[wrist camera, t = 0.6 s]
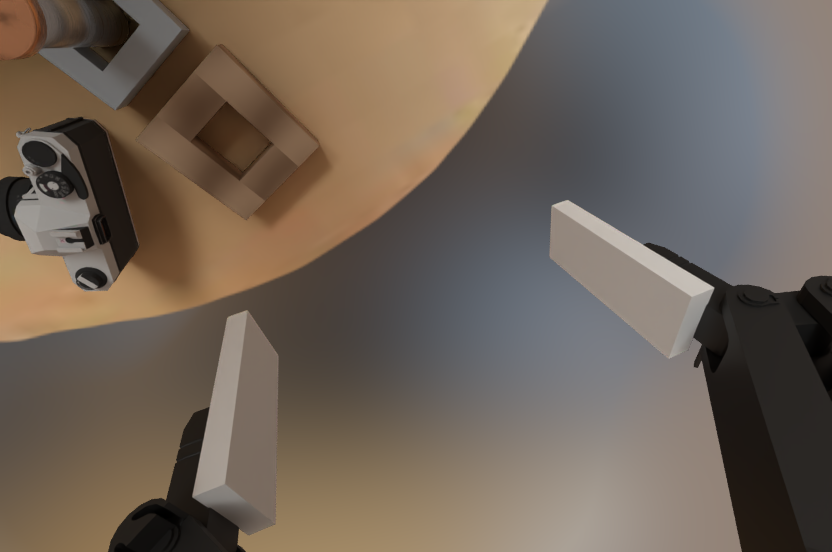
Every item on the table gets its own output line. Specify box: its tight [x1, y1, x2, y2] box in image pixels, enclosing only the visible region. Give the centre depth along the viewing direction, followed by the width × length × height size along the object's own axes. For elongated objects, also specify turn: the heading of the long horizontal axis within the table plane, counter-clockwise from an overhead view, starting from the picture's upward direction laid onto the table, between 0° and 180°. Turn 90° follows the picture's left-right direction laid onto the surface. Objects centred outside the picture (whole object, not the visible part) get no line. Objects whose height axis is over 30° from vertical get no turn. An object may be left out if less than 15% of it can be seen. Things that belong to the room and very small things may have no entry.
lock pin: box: [0, 0, 129, 60], centre depth 21 cm, size 4×4×13 cm
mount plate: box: [38, 0, 190, 110], centre depth 25 cm, size 8×8×2 cm
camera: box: [0, 117, 140, 291], centre depth 28 cm, size 13×8×9 cm, turn 174°
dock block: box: [136, 44, 319, 220], centre depth 31 cm, size 10×10×2 cm
